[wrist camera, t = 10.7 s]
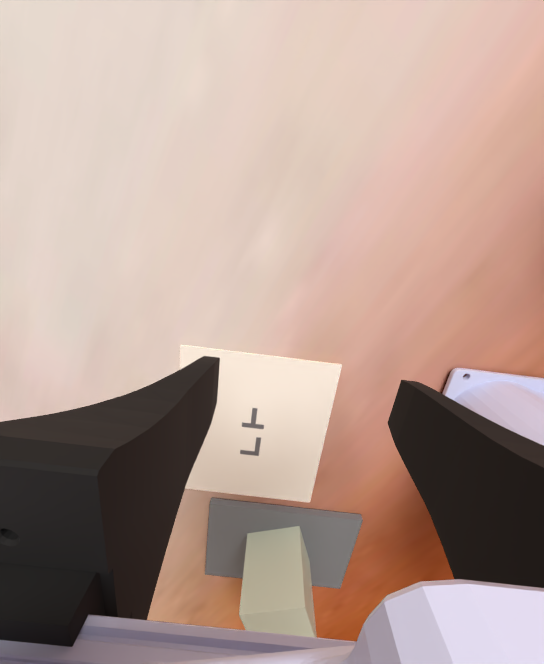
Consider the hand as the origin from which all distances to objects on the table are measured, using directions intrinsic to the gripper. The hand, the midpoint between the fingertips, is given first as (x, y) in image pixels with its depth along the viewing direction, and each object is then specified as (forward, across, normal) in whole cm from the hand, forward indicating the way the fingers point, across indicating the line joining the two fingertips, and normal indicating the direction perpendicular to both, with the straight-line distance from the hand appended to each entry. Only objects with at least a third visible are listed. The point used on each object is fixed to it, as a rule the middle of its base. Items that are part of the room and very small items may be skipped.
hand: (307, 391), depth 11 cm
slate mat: (+9, -2, +23) cm, 25 cm away
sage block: (+9, -2, +23) cm, 25 cm away
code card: (+9, +2, +10) cm, 14 cm away
